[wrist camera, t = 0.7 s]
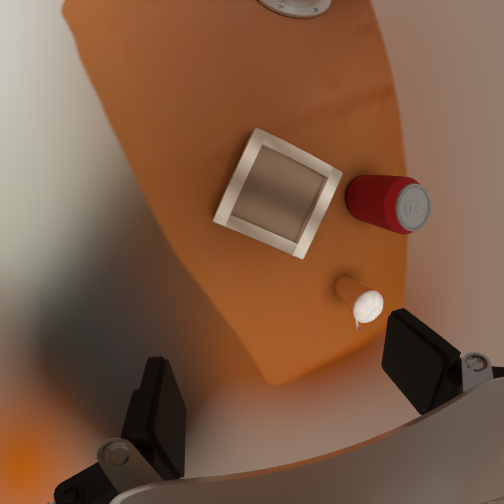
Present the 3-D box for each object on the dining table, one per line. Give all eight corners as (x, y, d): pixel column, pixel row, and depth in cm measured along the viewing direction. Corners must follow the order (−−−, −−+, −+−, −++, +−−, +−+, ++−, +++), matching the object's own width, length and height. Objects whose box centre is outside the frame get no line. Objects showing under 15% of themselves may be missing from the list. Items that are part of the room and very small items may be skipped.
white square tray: (251, 132, 34) (256, 127, 30) (329, 173, 37) (343, 173, 33) (212, 216, 36) (212, 221, 32) (293, 251, 39) (302, 259, 35)
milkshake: (320, 289, 41) (349, 320, 31) (345, 265, 41) (380, 289, 31) (336, 307, 42) (366, 340, 33) (360, 284, 42) (395, 310, 32)
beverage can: (382, 218, 40) (434, 234, 28) (345, 222, 39) (392, 241, 27) (380, 174, 38) (434, 177, 26) (342, 175, 37) (391, 177, 26)
